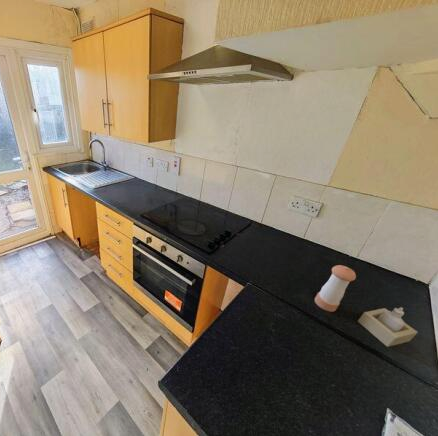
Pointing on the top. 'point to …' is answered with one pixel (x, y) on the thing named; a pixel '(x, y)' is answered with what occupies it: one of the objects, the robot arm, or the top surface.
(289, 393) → the top surface
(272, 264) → the top surface
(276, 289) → the top surface
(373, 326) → the socket block
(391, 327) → the eye dropper bottle
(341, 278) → the salt shaker
